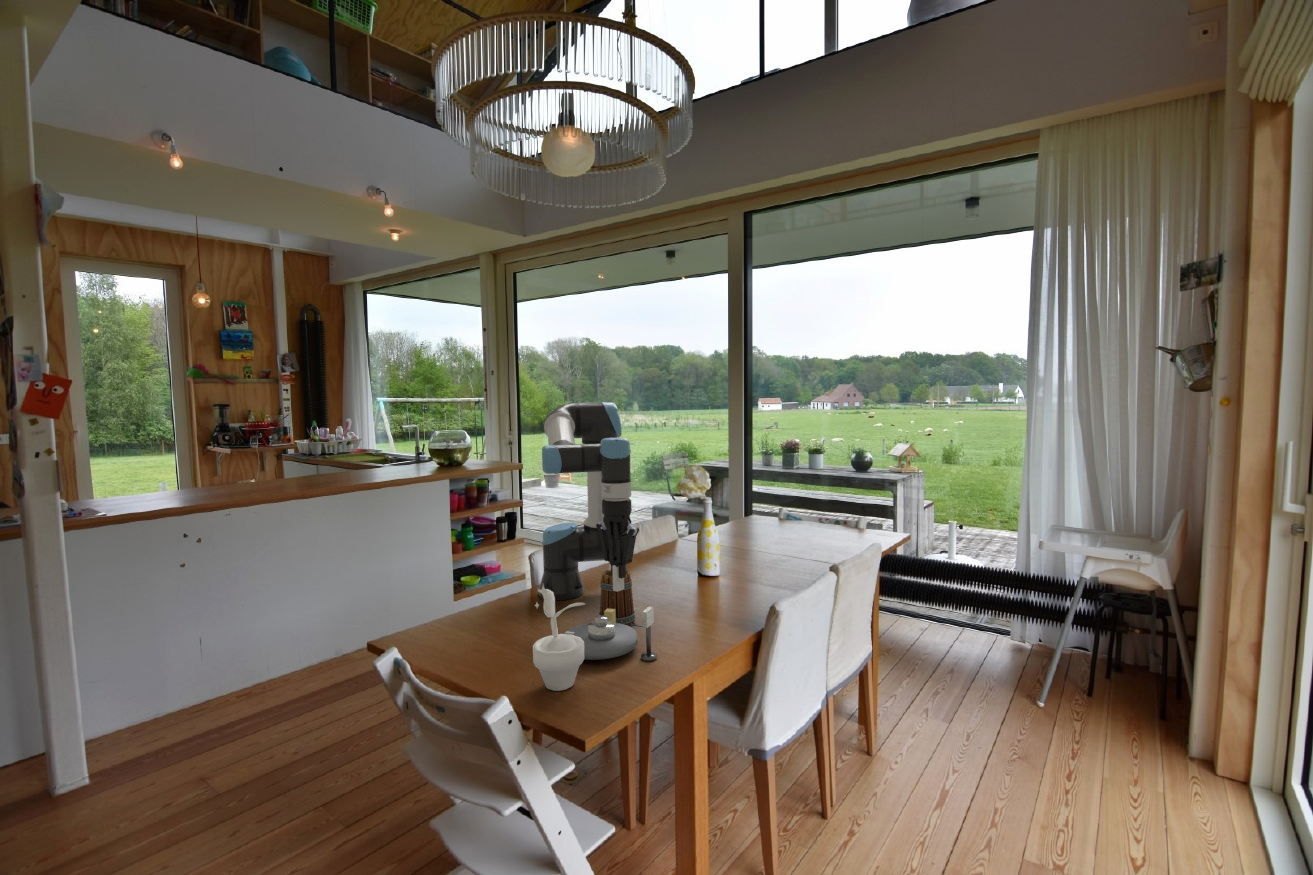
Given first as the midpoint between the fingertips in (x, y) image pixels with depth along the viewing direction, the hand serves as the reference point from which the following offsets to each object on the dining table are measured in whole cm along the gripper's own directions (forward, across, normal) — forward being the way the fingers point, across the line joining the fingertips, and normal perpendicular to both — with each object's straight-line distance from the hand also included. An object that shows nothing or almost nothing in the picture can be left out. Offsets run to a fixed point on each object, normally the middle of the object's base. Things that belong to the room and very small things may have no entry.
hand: (618, 589), depth 157 cm
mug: (+17, -16, +17) cm, 29 cm away
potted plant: (+17, +2, -22) cm, 27 cm away
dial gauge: (+16, +7, +1) cm, 18 cm away
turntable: (+15, -5, -2) cm, 16 cm away
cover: (+13, -5, -2) cm, 14 cm away
